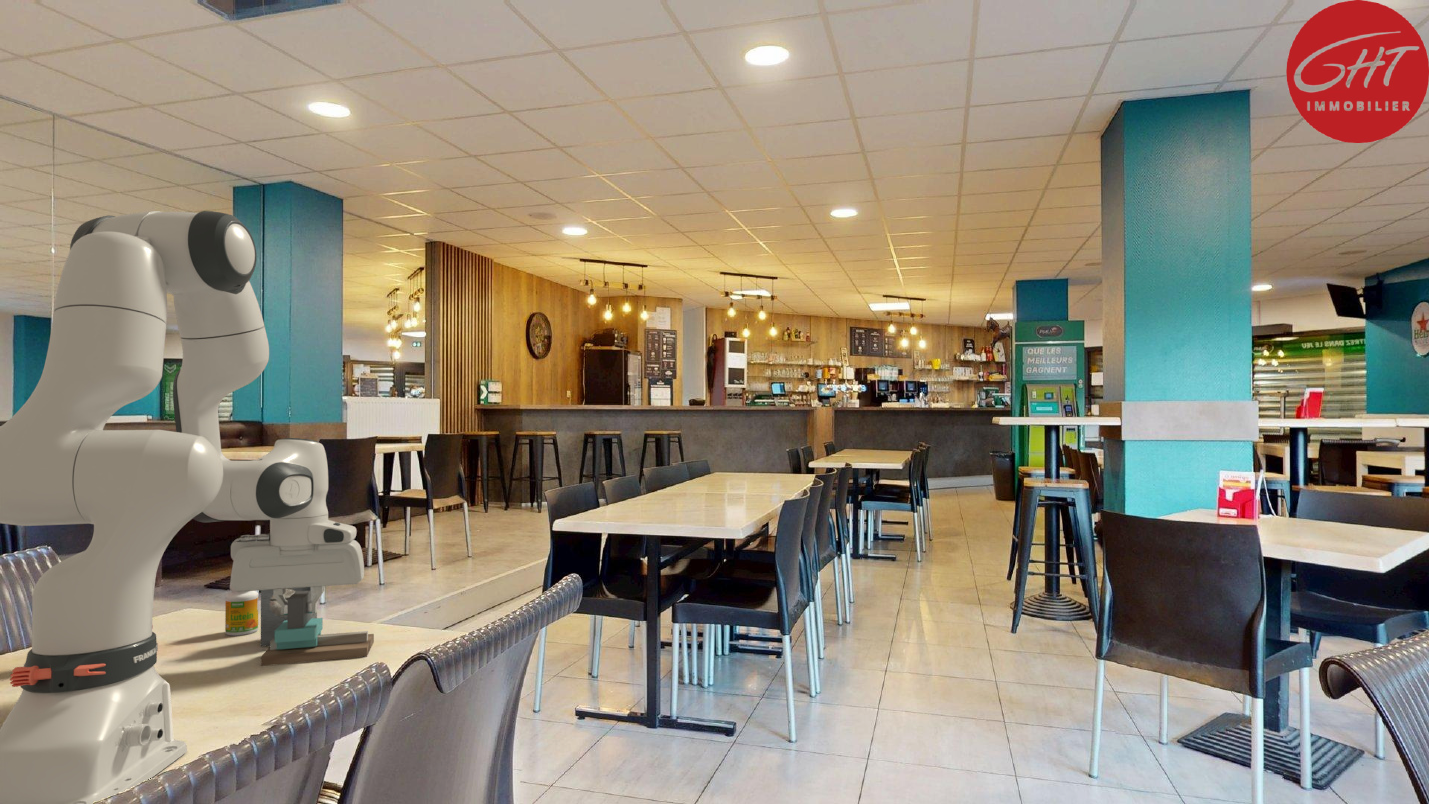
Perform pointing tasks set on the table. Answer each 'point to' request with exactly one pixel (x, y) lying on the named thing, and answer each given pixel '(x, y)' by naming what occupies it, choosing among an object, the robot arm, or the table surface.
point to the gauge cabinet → (275, 612)
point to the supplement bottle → (241, 612)
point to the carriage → (298, 624)
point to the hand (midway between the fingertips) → (299, 613)
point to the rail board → (322, 649)
